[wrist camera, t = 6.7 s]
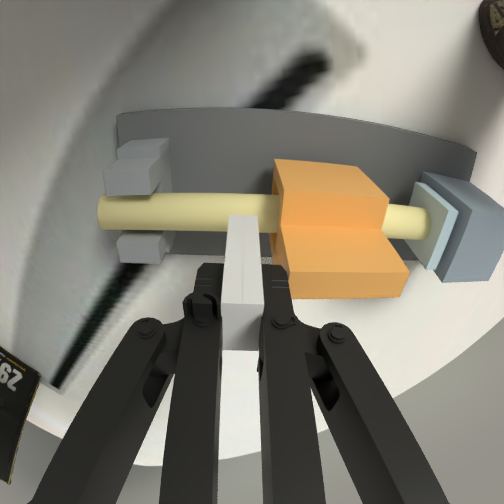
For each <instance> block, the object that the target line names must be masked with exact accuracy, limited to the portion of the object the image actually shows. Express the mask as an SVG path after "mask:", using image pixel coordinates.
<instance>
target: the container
mask: <svg viewBox="0 0 504 504" xmlns="http://www.w3.org/2000/svg"><path fill="white" fill-rule="evenodd" d="M480 26H481V31H482V35H483V38H484V41H485V43H486V45H487V48H488V50H489V51H490V53H491V55H492V56H493V58H494V59H495V61H496V62H497V63H498V64H499V65H500V66H501V67H502V68H503V69H504V0H484V1H483V3H482V5H481V8H480Z"/></svg>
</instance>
